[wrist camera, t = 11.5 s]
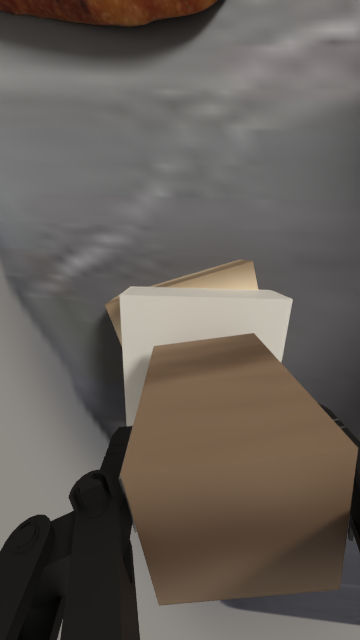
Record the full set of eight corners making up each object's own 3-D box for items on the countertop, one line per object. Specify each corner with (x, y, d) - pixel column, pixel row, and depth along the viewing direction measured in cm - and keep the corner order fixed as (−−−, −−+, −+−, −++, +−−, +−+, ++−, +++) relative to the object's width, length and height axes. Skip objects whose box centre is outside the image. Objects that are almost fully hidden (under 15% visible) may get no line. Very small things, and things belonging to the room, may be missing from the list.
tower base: (118, 295, 22) (104, 304, 18) (239, 259, 21) (252, 261, 17) (156, 396, 25) (152, 422, 21) (261, 369, 24) (277, 391, 20)
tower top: (130, 286, 17) (119, 294, 14) (270, 290, 18) (292, 299, 14) (135, 404, 21) (127, 434, 17) (253, 407, 21) (267, 437, 17)
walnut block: (153, 346, 13) (120, 474, 6) (253, 332, 13) (358, 447, 6) (168, 426, 15) (159, 605, 8) (257, 415, 15) (339, 589, 7)
